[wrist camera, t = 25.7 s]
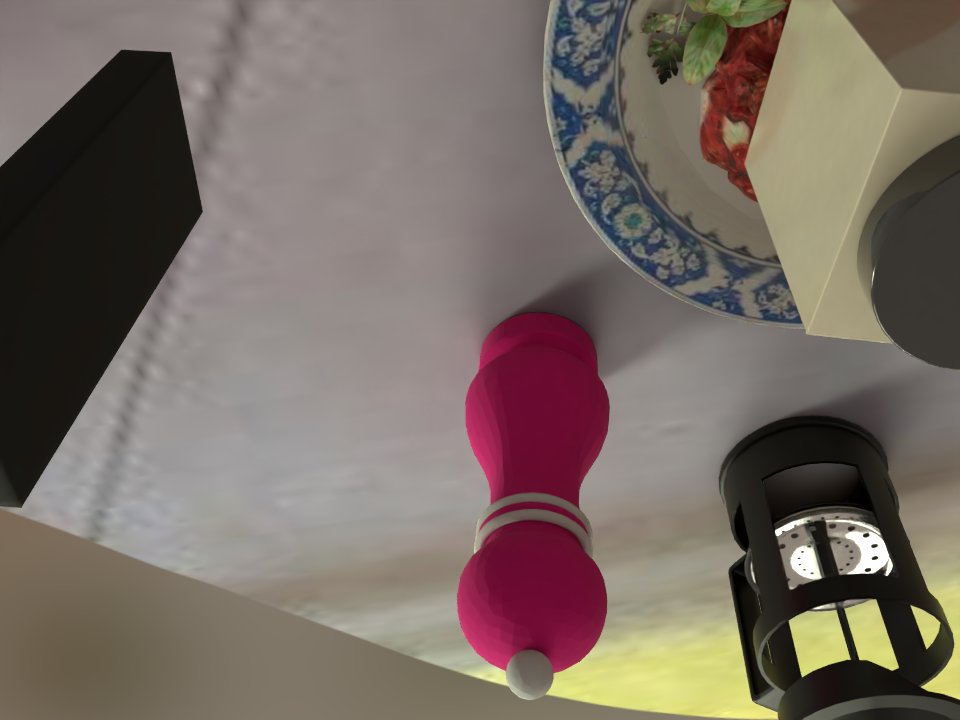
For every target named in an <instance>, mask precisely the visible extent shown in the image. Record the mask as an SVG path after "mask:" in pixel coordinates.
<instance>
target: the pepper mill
mask: <svg viewBox="0 0 960 720" xmlns="http://www.w3.org/2000/svg"><path fill="white" fill-rule="evenodd" d="M609 410H610V406H609V398H608V395H607V391H606V389H605V386H604V384H603V382H602V381H601V379H600V378H599V376H598V369H597V355H596V350H595V347H594V345H593V342H592V340H591V339H590V337H589V336H588V334H587V333H586V332H585V331H584V330H583V329H582V328H581V327H579V326H578V325H577V324H575V323H574V322H572V321H571V320H568V319H566V318H563V317H561V316H558V315H553V314H548V313H526V314H522V315H519V316H515V317H512V318H510V319H508V320H506V321H504V322H503V323H501V324H499V325H498V326H497V327H496V328H494V329H493V331H492V332H491V333H490V334H489V335H488V337H487V338H486V340H485V342H484V344H483V347H482V350H481V356H480V366H479V372H478V374H477V375H476V376H475V378H474V380H473V381H472V383H471V385H470V387H469V390H468V393H467V397H466V428H467V432H468V436H469V440H470V443H471V446H472V449H473V451H474V454H475V456H476V457H477V459H478V461H479V463H480V465H481V467H482V468H483V470H484V472H485V475H486V477H487V479H488V482H489V486H490V490H491V504H490V506H489V507H488V508H487V509H486V510H485V511H484V512H483V513H482V514H481V516H480V518H479V519H478V522H477V525H476V539H475V543H474V553H475V554H474V555H473V556H472V558H471V559H470V561H469V562H468V564H467V565H466V567H465V568H464V571H463V573H462V575H461V577H460V583H459V588H458V593H457V605H458V615H459V620H460V624H461V628H462V630H463V632H464V634H465V636H466V638H467V640H468V642H469V643H470V645H471V646H472V647H473V649H474V650H475V651H476V652H477V653H478V654H479V655H480V656H481V657H483V658H484V659H485V660H486V661H488V662H489V663H491V664H493V665H494V666H496V667H498V668H500V669H502V670H505V671H506V680H507V682H508V685H509V687H510V689H511V690H512V692H514V693H515V694H516V695H517V696H519V697H520V698H523V699H528V700H533V699H537V698H540V697H542V696H543V695H545V694H546V693H547V692H548V690H549V689H550V687H551V685H552V682H553V673H556V672H560V671H563V670H565V669H567V668H569V667H571V666H572V665H574V664H576V663H578V662H580V661H581V660H582V659H583V658H584V657H585V656H586V655H587V654H588V653H589V652H590V651H591V649H592V648H593V647H594V646H595V644H596V643H597V641H598V639H599V637H600V635H601V632H602V629H603V627H604V623H605V618H606V614H607V593H606V588H605V583H604V579H603V576H602V574H601V572H600V570H599V568H598V566H597V565H596V564H595V562H594V561H593V559H592V555H593V548H592V543H591V542H592V529H591V525H590V523H589V521H588V519H587V518H586V516H585V515H584V514H583V512H582V511H581V510H580V509H579V490H580V486H581V483H582V481H583V479H584V477H585V476H586V474H587V473H588V471H589V469H590V468H591V466H592V465H593V463H594V462H595V460H596V458H597V457H598V455H599V453H600V451H601V448H602V446H603V443H604V440H605V438H606V435H607V431H608V424H609Z"/></svg>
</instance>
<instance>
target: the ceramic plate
mask: <svg viewBox="0 0 960 720" xmlns="http://www.w3.org/2000/svg"><path fill="white" fill-rule="evenodd" d="M791 1H792V0H551V1H550V6H549V12H548V18H547V24H546V30H545V42H544V63H543V89H544V102H545V109H546V117H547V124H548V128H549V132H550V136H551V140H552V144H553V147H554V151H555V155H556V159H557V161H558V164H559V167H560V170H561V172H562V175H563V178H564V180H565V182H566V184H567V186H568V188H569V190H570V192H571V194H572V196H573V198H574V200H575V202H576V204H577V205H578V207H579V208H580V210H581V212H582V213H583V215H584V216H585V218H586V220H587V221H588V223H589V224H590V225H591V226H592V228H593V229H594V230H595V231H596V233H597V234H598V235H599V236H600V238H601V239H602V240H603V241H604V243H605V244H606V245H607V246H608V247H609V248H610V249H611V250H612V251H613V252H614V253H615V254H616V255H617V256H618V257H619V258H620V259H621V260H622V261H623V262H624V263H626V264H627V265H628V266H629V267H630V268H632V269H633V270H634V271H635V272H636V273H637V274H639V275H640V276H641V277H643V278H644V279H646V280H647V281H649V282H650V283H652V284H653V285H655V286H656V287H658V288H659V289H661V290H663V291H665V292H666V293H668V294H670V295H672V296H674V297H676V298H677V299H679V300H681V301H683V302H686V303H688V304H691V305H693V306H695V307H698V308H700V309H702V310H705V311H707V312H709V313H713V314H716V315H720V316H723V317H726V318H730V319H735V320H739V321H744V322H748V323H752V324H759V325H766V326H773V327H780V328H797V329H805V328H804V325H803V323H802V320H801V317H800V314H799V312H798V309H797V306H796V304H795V301H794V298H793V295H792V293H791V290H790V287H789V284H788V282H787V279H786V276H785V274H784V271H783V268H782V265H781V263H780V260H779V257H778V254H777V252H776V249H775V246H774V243H773V241H772V238H771V235H770V233H769V230H768V227H767V224H766V222H765V219H764V216H763V213H762V211H761V208H760V205H759V203H758V200H757V197H756V194H755V192H754V189H753V186H752V183H751V181H750V178H749V175H748V172H747V170H746V167H745V164H744V163H745V160H746V157H747V153H748V150H749V146H750V143H751V139H752V136H753V132H754V129H755V125H756V122H757V119H758V115H759V112H760V108H761V105H762V101H763V98H764V94H765V91H766V87H767V84H768V81H769V77H770V74H771V70H772V67H773V63H774V60H775V56H776V53H777V49H778V46H779V42H780V39H781V36H782V32H783V29H784V25H785V22H786V18H787V15H788V11H789V8H790V4H791Z"/></svg>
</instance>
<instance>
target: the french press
mask: <svg viewBox="0 0 960 720" xmlns="http://www.w3.org/2000/svg"><path fill="white" fill-rule="evenodd" d="M818 463H835V464H844V465H849V466H854V467H857V470H858V473H859V476H860V478H861V481H862V484H861V487H860V488H859V489H858V491H857V492H856V494H855V495H854V496H853V497H852V498H851V499H850V500H849V501H848V502H830V503H818V504H813V505H809V506H804V507H800V508H797V509H794V510H791V511H788V512H786V513H784V514H781V515H779V516H777V517H773V516H772V515H771V511H770V507H769V503H768V499H767V495H766V491H765V487H764V482H763V480H765V479H767V478H769V477H771V476H772V475H774V474H776V473H779V472H782V471H784V470H787V469H790V468H793V467H798V466H803V465H807V464H818ZM719 490H720V494H721V497H722V500H723V502H724V504H725V505H726V507H727V510H728V515H729V520H730V526H731V530H732V533H733V536H734V539H735V540H736V542H737V543H738V545H739V546H740V548H741V549H742V550H744V551H745V552H746V554H745V555H744V556H743V557H741V558H740V559H739V560H738V561H737V562H735V563H734V564H733V565H732V566H731V567H730V568H729V579H730V585H731V590H732V596H733V601H734V607H735V612H736V617H737V623H738V628H739V634H740V639H741V645H742V650H743V656H744V661H745V667H746V672H747V678H748V683H749V688H750V694H751V698H752V701H753V702H755V703H756V704H759V705H761V706H764V707H766V708H769V709H771V710H774V711H776V712H778V719H779V720H960V700H959V699H956V698H953V697H950V696H947V695H944V694H940V693H934V692H929V691H926V690H925V689H923V688H921V686H923V685H925V684H926V683H928V682H929V681H930V680H932V679H933V678H935V677H936V676H937V675H938V674H939V673H940V672H941V671H942V670H943V669H944V668H945V667H946V665H947V663H948V662H949V660H950V658H951V656H952V653H953V648H954V639H953V633H952V631H951V628H950V626H949V623H948V621H947V618H946V616H945V613H944V611H943V609H942V607H941V605H940V603H939V602H938V600H937V599H936V598H935V597H934V596H933V595H932V594H931V593H930V592H929V591H928V589H927V586H926V584H925V581H924V578H923V576H922V573H921V571H920V568H919V566H918V563H917V561H916V558H915V556H914V553H913V551H912V548H911V545H910V541H909V539H908V537H907V535H906V533H905V530H904V528H903V525H902V523H901V520H900V517H899V515H898V513H899V502H898V496H897V494H896V491H895V489H894V486H893V484H892V481H891V479H890V476H889V474H888V463H887V458H886V455H885V453H884V451H883V449H882V447H881V445H880V443H879V442H878V441H877V440H876V439H875V438H874V437H873V436H872V435H871V434H870V433H869V432H867V431H866V430H864V429H863V428H861V427H860V426H858V425H855V424H853V423H850V422H848V421H845V420H841V419H836V418H832V417H821V416H807V417H796V418H791V419H787V420H782V421H778V422H775V423H773V424H770V425H767V426H765V427H762V428H760V429H759V430H757V431H755V432H753V433H752V434H750V435H748V436H747V437H746V438H744V439H743V440H742V441H741V442H739V443H738V444H737V445H736V446H735V447H734V448H733V450H732V451H731V452H730V453H729V454H728V456H727V458H726V459H725V461H724V463H723V465H722V468H721V472H720V476H719ZM757 593H758V595H757ZM758 598H759V600H758ZM871 599H876V600H877V603H878V606H879V609H880V612H881V615H882V618H883V621H884V624H885V627H886V630H887V633H888V636H889V639H890V642H891V645H892V648H893V650H894V653H895V656H896V659H897V662H898V665H899V668H898V669H896V670H893V671H891V670H889V669H887V668H884V667H882V666H879V665H877V664H875V663H872V662H870V661H868V660H859V657H858V654H857V651H856V647H855V644H854V640H853V637H852V634H851V630H850V627H849V624H848V620H847V617H846V614H845V610H844V608H848V607H851V606H855V605H858V604H862V603H864V602H866V601H868V600H871ZM759 603H760V605H759ZM910 605H912V606H914V607H917V608H920V609H922V610H924V611H926V612H928V613H929V614H931V615H933V616H934V617H935V618H936V619H937V620H938V621H939V622H941V624H940V629H939V633H938V635H937V636H936V638H935V640H934V642H933V643H932V644H931V646H930V647H929V648H928V649H927V650H926V647H925V644H924V641H923V639H922V636H921V633H920V631H919V628H918V625H917V622H916V620H915V617H914V614H913V612H912V609H911V606H910ZM760 607H761V610H760ZM831 610H837V613H838V617H839V620H840V624H841V627H842V630H843V634H844V637H845V641H846V644H847V648H848V651H849V655H850V658H851V660H845V661H841V662H838V663H834V664H830V665H827V666H825V667H822V668H820V669H817V670H815V671H813V672H811V673H809V674H807V675H806V676H804V677H802V676H801V672H800V668H799V664H798V659H797V655H796V651H795V647H794V642H793V638H792V634H791V630H790V626H789V620H790V619H792V618H793V617H795V616H797V615H799V614H801V613H804V612H806V611H831ZM761 612H762V613H761ZM767 641H768V643H767ZM768 645H769V648H768ZM769 650H770V653H769ZM770 655H771V657H770ZM771 660H772V662H771Z"/></svg>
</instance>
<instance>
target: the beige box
mask: <svg viewBox="0 0 960 720" xmlns="http://www.w3.org/2000/svg"><path fill="white" fill-rule="evenodd" d="M744 164H745V167H746V170H747V172H748V175H749V178H750V181H751V183H752V186H753V189H754V192H755V194H756V197H757V200H758V203H759V205H760V208H761V211H762V213H763V216H764V219H765V222H766V224H767V227H768V230H769V233H770V235H771V238H772V241H773V243H774V246H775V249H776V252H777V254H778V257H779V260H780V263H781V265H782V268H783V271H784V274H785V276H786V279H787V282H788V284H789V287H790V290H791V293H792V295H793V298H794V301H795V304H796V306H797V309H798V312H799V314H800V317H801V320H802V323H803V325H804V328H805V331H806V334H808V335H817V336H827V337H836V338H845V339H855V340H864V341H873V342H883V343H892V344H895V345H896V346H897V347H898V348H900V349H901V350H902V351H904V352H905V353H907V354H909V355H910V356H912V357H914V358H916V359H918V360H921V361H923V362H925V363H928V364H931V365H935V366H939V367H943V368H949V369H955V370H960V0H792V1H791V4H790V8H789V11H788V15H787V18H786V22H785V25H784V29H783V32H782V36H781V39H780V42H779V46H778V49H777V53H776V56H775V60H774V63H773V67H772V70H771V74H770V77H769V81H768V84H767V87H766V91H765V94H764V98H763V101H762V105H761V108H760V112H759V115H758V119H757V122H756V125H755V129H754V132H753V136H752V139H751V143H750V146H749V150H748V153H747V157H746V160H745V163H744Z"/></svg>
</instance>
